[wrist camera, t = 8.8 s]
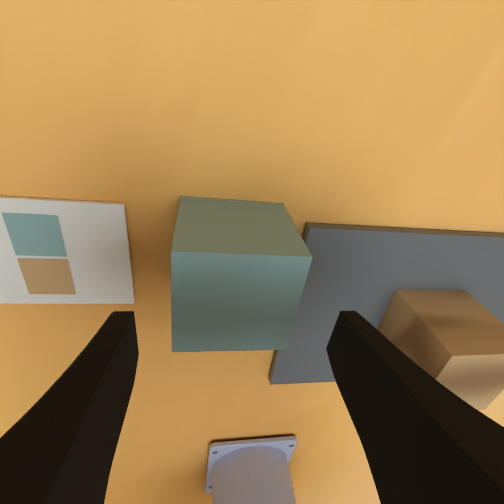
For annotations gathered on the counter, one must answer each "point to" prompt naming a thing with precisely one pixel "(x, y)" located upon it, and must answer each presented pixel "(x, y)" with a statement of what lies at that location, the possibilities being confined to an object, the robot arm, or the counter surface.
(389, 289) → the baseplate
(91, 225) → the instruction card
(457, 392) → the brown wooden cube
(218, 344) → the teal block
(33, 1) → the counter surface
